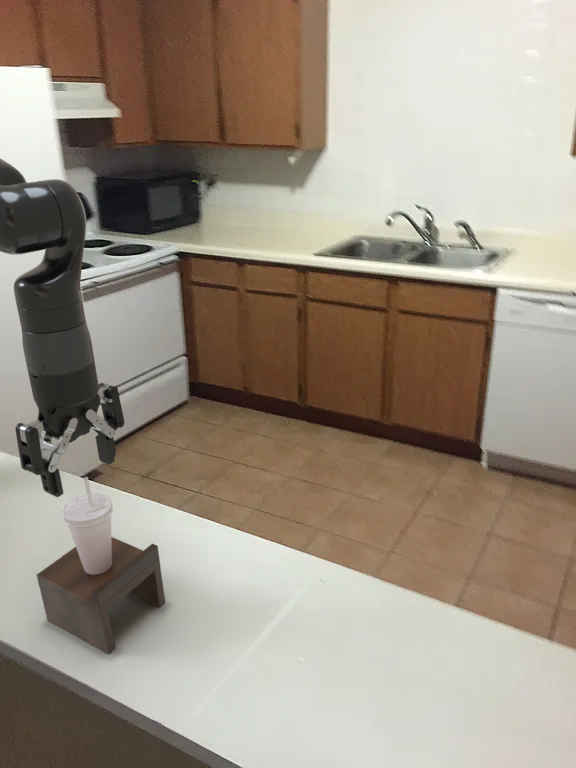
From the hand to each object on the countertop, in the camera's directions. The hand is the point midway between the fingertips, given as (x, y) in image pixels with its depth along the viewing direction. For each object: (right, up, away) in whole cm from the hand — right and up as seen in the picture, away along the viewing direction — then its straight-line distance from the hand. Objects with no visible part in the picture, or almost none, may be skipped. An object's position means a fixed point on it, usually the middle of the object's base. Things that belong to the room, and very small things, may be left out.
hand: (82, 477), depth 85 cm
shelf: (+1, -20, +9) cm, 22 cm away
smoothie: (0, -13, +6) cm, 14 cm away
